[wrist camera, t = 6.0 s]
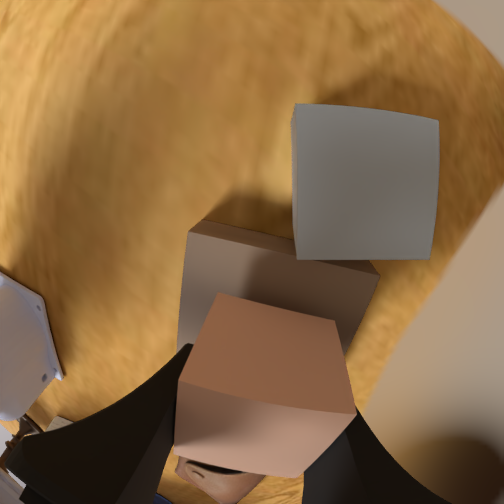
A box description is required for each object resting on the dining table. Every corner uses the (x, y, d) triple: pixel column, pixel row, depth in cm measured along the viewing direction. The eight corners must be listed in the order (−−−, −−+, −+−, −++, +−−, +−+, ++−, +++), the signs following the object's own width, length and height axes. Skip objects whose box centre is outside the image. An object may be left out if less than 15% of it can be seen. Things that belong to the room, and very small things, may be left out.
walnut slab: (315, 372, 16) (318, 401, 13) (188, 345, 16) (175, 372, 13) (364, 254, 13) (380, 275, 10) (204, 217, 13) (188, 231, 11)
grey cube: (385, 224, 12) (429, 259, 8) (292, 223, 12) (297, 259, 8) (388, 129, 10) (438, 120, 6) (290, 122, 11) (295, 103, 7)
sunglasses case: (176, 391, 17) (207, 473, 11) (264, 378, 20) (308, 443, 15) (173, 472, 23) (191, 518, 18) (228, 462, 26) (249, 504, 21)
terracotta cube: (296, 395, 11) (296, 478, 7) (202, 373, 12) (173, 453, 7) (334, 320, 10) (357, 414, 6) (217, 292, 10) (178, 379, 6)
